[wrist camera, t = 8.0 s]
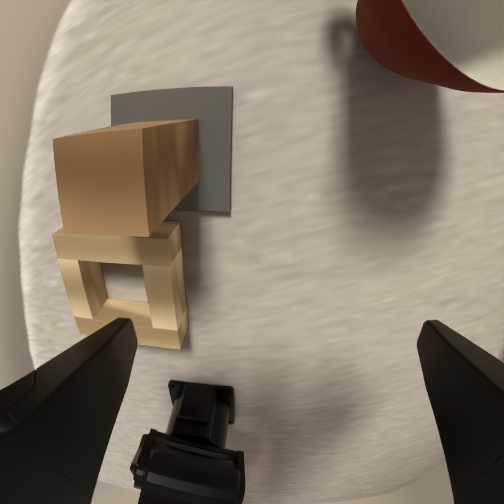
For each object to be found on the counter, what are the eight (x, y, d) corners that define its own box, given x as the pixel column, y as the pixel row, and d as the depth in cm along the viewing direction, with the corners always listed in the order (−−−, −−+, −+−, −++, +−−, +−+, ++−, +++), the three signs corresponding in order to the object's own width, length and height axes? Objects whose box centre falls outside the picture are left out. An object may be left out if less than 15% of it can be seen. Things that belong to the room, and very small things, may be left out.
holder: (188, 325, 25) (180, 349, 22) (94, 313, 25) (80, 334, 23) (179, 221, 21) (167, 239, 18) (73, 219, 21) (52, 234, 19)
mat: (230, 209, 21) (229, 211, 20) (120, 207, 21) (117, 209, 20) (232, 87, 17) (232, 86, 17) (114, 95, 17) (110, 95, 17)
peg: (198, 181, 19) (149, 236, 11) (140, 181, 19) (65, 233, 11) (198, 118, 18) (142, 128, 10) (138, 122, 18) (52, 139, 10)
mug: (274, 8, 15) (278, -72, 6) (349, -55, 12) (395, -133, 3) (399, 117, 17) (495, 135, 8) (461, 49, 14) (560, 37, 5)
